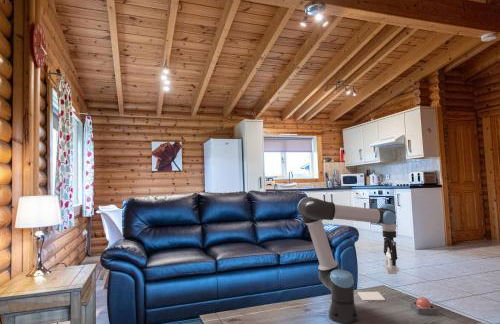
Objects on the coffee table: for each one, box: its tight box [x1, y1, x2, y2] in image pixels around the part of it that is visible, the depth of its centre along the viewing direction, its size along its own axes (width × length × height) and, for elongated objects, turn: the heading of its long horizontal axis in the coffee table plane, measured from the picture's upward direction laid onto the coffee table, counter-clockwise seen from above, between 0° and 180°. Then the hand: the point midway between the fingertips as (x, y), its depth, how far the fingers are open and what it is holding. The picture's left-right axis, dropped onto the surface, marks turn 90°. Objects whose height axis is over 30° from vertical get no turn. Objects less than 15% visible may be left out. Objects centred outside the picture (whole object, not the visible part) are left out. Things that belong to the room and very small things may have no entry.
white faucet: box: [382, 248, 400, 275], centre depth 192 cm, size 7×9×15 cm
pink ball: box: [415, 296, 432, 308], centre depth 178 cm, size 7×7×7 cm
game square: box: [357, 291, 386, 302], centre depth 200 cm, size 13×13×1 cm
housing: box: [409, 301, 439, 316], centre depth 178 cm, size 10×10×3 cm
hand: (390, 268), depth 192 cm, fingers closed on white faucet, 9 cm apart
